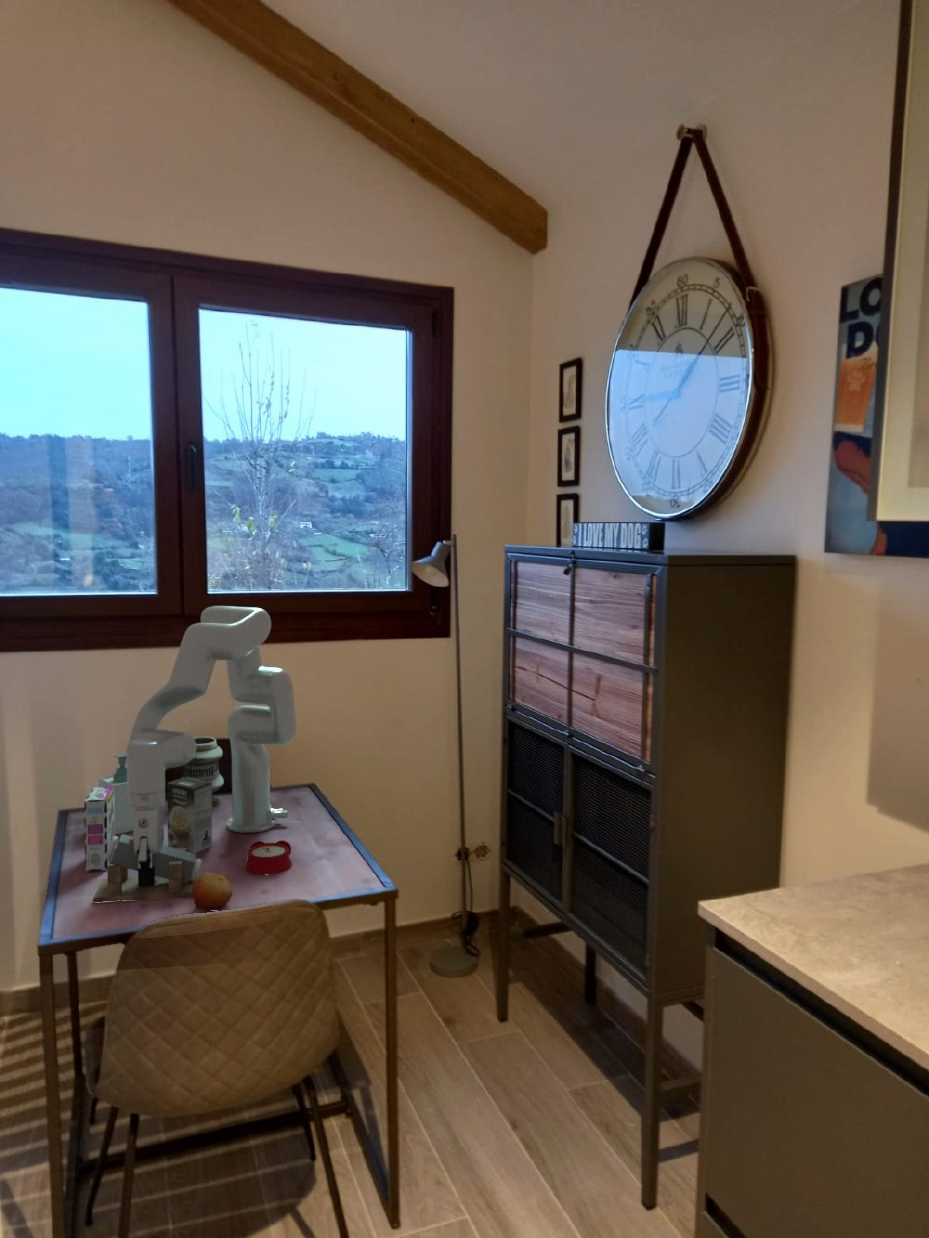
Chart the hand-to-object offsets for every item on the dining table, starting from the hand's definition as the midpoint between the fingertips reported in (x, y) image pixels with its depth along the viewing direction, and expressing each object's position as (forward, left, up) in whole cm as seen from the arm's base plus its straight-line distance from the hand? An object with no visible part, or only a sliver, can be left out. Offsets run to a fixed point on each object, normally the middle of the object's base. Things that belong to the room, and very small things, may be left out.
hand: (148, 879), depth 182 cm
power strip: (0, 0, +2) cm, 2 cm away
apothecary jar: (-5, -60, -2) cm, 60 cm away
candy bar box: (+13, -18, -2) cm, 22 cm away
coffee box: (-6, -25, -2) cm, 26 cm away
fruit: (-14, +11, -3) cm, 18 cm away
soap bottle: (+12, -42, -2) cm, 44 cm away
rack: (0, 0, -2) cm, 2 cm away
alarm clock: (-25, -11, -3) cm, 27 cm away
